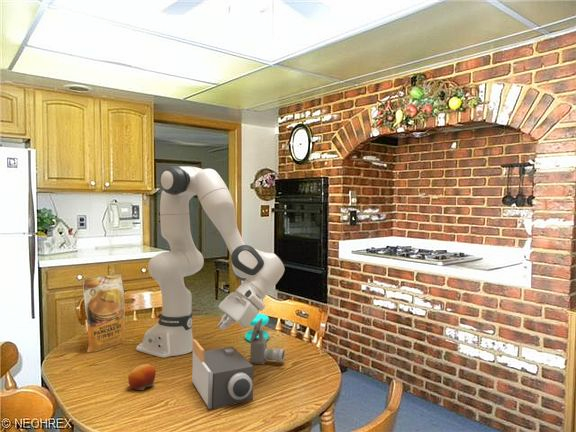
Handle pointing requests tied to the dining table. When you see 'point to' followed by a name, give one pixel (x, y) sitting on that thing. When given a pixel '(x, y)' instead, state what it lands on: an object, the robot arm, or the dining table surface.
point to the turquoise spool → (264, 322)
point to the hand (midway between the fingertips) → (220, 328)
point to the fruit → (142, 377)
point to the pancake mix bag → (104, 311)
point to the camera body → (229, 376)
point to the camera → (263, 347)
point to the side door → (202, 374)
